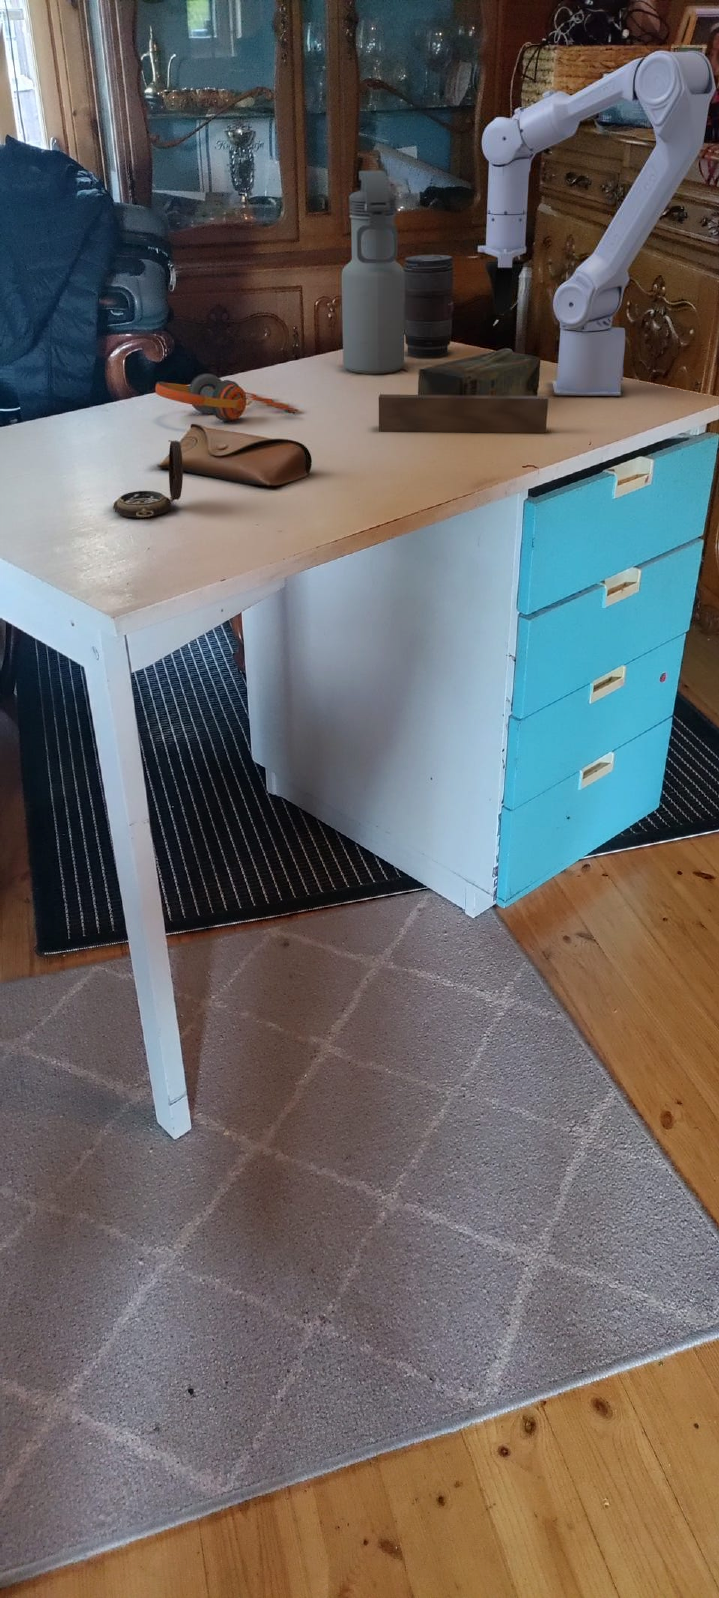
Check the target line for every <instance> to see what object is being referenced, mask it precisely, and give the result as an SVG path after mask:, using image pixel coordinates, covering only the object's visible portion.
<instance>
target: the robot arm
mask: <svg viewBox="0 0 719 1598" xmlns="http://www.w3.org/2000/svg"><path fill="white" fill-rule="evenodd" d="M716 90H717V87H716V82H715V78H714V73H713V68H712V63H711V62H710V60H709V59H708V56H706V55H705V54H704V53H702V52H700V51H697V50H688V51H668V50H656V51H653V52H651V53H650V54H648V55H647V56H643V57H639V58H636V59H633V60H632V61H630V62H628V63H626V64H624V65H623V66H621V67H619V68H617V69H615V70H614V71H612V72H610V73H609V74H607V75H605V76H604V77H601V78H600V79H599V80H596V81H595V82H593V83H592V84H590V85H588V86H586V87H585V88H584V87H583V89H581V90H579V91H577V92H576V93H574V94H572V95H570V94H568V93H567V92H564V91H562V90H558V91H556V90H554V89H551V90H547V91H545V92H543V93H542V95H541V96H542V99H541V100H539V101H537V102H535V103H533V104H531V105H529V106H527V107H524V106H519V107H517V108H515V110H514V114H513V115H512V117H505V116H497V117H495V118H494V119H493V120H492V121H490V122H489V124H487V126H486V127H485V128H484V131H483V133H482V136H481V137H482V138H481V149H482V153H483V156H484V157H485V159H486V160H487V161H488V181H487V206H486V230H485V231H486V234H485V245H478V246H477V253H485V254H486V255H489V256H492V257H495V258H497V260H496V261H495V260H494V261H485V264H484V267H485V270H486V272H487V274H488V277H489V281H490V286H491V293H492V301H493V309H494V314H495V315H510V312H511V309H512V304H513V300H514V295H515V291H516V286H517V284H518V280H519V278H520V275H521V273H522V271H523V269H524V268H525V263H524V260H523V259H514V258H515V257H519V256H520V255H523V254H526V253H527V246H526V236H527V235H526V233H527V215H528V213H527V212H528V197H529V179H530V178H529V177H530V172H531V166H532V165H531V164H532V162H533V159H534V157H535V156H536V154H537V153H540V152H542V151H544V150H547V149H548V148H550V147H553V146H554V145H557V144H558V143H560V142H562V141H565V140H567V139H569V138H571V137H573V136H574V135H575V134H576V132H577V130H578V127H579V125H580V122H581V121H583V120H585V119H588V118H590V117H592V116H594V115H596V114H599V113H601V112H603V111H607V110H608V109H610V108H612V107H615V106H617V105H619V104H622V103H624V102H626V101H631V102H639V103H640V106H641V107H642V109H643V111H644V113H645V115H646V117H647V119H648V121H649V122H650V124H651V126H652V129H653V133H654V137H655V142H656V143H655V146H654V148H653V150H652V152H651V153H650V155H649V157H648V158H647V160H646V162H645V164H644V166H643V167H642V169H641V170H640V172H639V174H638V176H636V177H637V178H636V179H635V181H634V182H633V184H632V186H631V188H630V189H629V191H628V193H627V194H626V195H625V198H624V200H623V202H622V203H621V205H620V207H619V209H618V210H617V212H616V213H615V215H614V217H613V218H612V220H611V222H610V224H609V225H608V227H607V229H606V231H605V232H604V233H603V235H602V237H601V239H600V240H599V243H598V244H597V246H596V247H595V249H594V251H593V253H591V255H589V257H587V258H586V259H585V260H584V261H583V262H582V263H581V264H580V265H578V267H577V268H575V271H574V272H573V274H572V275H571V276H570V278H568V280H565V281H564V282H563V283H562V284H561V285H559V286H558V288H557V289H556V291H555V293H554V295H553V300H552V308H553V309H552V310H553V313H554V315H555V318H556V319H557V321H558V322H559V331H560V332H559V346H558V361H557V373H556V374H557V375H556V379H555V380H552V389H553V395H555V396H589V397H591V396H597V397H599V396H602V397H604V396H605V397H606V396H607V397H620V396H621V395H622V392H621V390H622V382H623V379H624V359H625V350H626V349H625V348H626V330H625V328H624V327H617V326H612V325H613V319H614V318H613V317H614V316H615V315H616V314H617V312H619V309H620V308H621V306H622V302H623V296H624V292H625V289H626V287H627V285H628V283H629V281H630V275H629V271H628V270H629V268H630V267H631V265H632V263H633V261H634V260H635V258H636V257H637V255H638V253H639V252H640V250H641V249H642V247H643V245H644V243H645V242H646V240H647V239H648V237H649V235H650V234H651V232H652V231H653V229H654V228H655V226H656V224H657V223H658V221H659V220H660V218H661V216H662V214H663V213H664V211H665V209H666V208H667V206H668V205H669V204H670V202H671V200H672V198H673V196H674V195H675V193H676V192H677V190H678V188H679V186H680V185H681V183H682V182H683V180H684V179H685V177H686V176H687V173H688V172H689V170H690V168H692V166H693V163H694V162H695V160H696V159H697V158H698V156H699V154H700V152H701V150H702V148H703V145H704V141H705V134H706V127H707V121H708V116H709V115H708V114H709V108H710V103H711V100H712V99H713V97H714V94H715V92H716Z"/></svg>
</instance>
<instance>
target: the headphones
mask: <svg viewBox="0 0 719 1598" xmlns="http://www.w3.org/2000/svg"><path fill="white" fill-rule="evenodd" d="M155 394H156V395H158V396H159V397H162V398H164V399H167V400H171V401H175V402H179V403H183V404H187V405H191V406H192V407H193V408H194V409H195V410H196V411H197V412H199V413H201V414H204V415H212V414H213V415H214V416H215V418H217V419H218V420H220V421H224V422H230V421H233V420H237V419H239V418H240V417H241V416H243V414H244V412H245V410H246V407H247V406H249V405H251V404H252V402H253V401H255V402H262V403H264V404H265V406H267V407H274V408H277V409H278V408H279V409H283V411H284V412H285V413H288V414H293V415H295V414H296V413H295V412H298V411H299V409H298V408H295V407H290V405H289V404H286V403H283V402H278V401H277V402H276V401H274V399H272V398H266V397H258V396H257V394H256V393H252V392H247V391H245V390H244V389H243V387H241V386H240V385H239V384H238V383H237V382H236V381H233V380H229V379H225V380H222V379H221V378H220V377H218V376H217V375H215V374H213V373H212V374H211V373H202V374H199V375H197V376H196V377H194V378H193V379H192V381H190V384H189V385H188V384H183V383H182V384H180V383H171V382H167V381H157V382H156V384H155ZM247 395H249V396H250V397H247ZM247 400H248V401H247Z"/></svg>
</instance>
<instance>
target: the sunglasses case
mask: <svg viewBox="0 0 719 1598" xmlns="http://www.w3.org/2000/svg"><path fill="white" fill-rule="evenodd" d="M178 442H179V443H180V446H181V452H182V461H183V472H186V473H191V474H196V475H202V476H206V477H210V478H216V479H220V480H224V481H228V482H233V483H239V484H245V485H258V486H259V485H260V486H267V487H270V486H271V487H277V486H283V485H287V484H291V483H293V482H296V481H298V480H301V479H304V478H305V477H308V475H309V474H310V472H311V469H312V465H313V463H312V462H313V461H312V460H313V459H312V455H311V452H310V450H309V449H308V447H307V446H306V445H305V444H303V443H302V442H299V441H296V440H293V439H288V438H271V437H270V438H269V437H266V436H259V435H255V434H249V433H245V432H239V431H230V430H224V429H218V428H210V427H207V426H203V425H201V424H198V423H191V424H190V429H189V430H188V431H187V432H186V433H185V434H184V436H183V437H181V439H180V440H179V441H178ZM156 467H157V468H163V469H169V454H167V456H166V457H165V458H164V459H163V461H162V462H160V463H157V464H156Z"/></svg>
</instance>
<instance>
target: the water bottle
mask: <svg viewBox="0 0 719 1598" xmlns="http://www.w3.org/2000/svg"><path fill="white" fill-rule="evenodd" d="M358 181H361V182H360V190H358V191H355V192H353V193H351V194H350V195H349V196H348V202H349V203H348V204H349V205H348V206H349V208H348V209H349V211H348V212H349V218H350V229H351V230H350V231H351V260H350V261H349V262H348V263H347V264H346V265H344V267H343V268H342V272H341V312H342V313H341V317H342V318H341V319H342V322H341V323H342V363H343V367H344V368H345V369H346V370H347V371H349V372H351V373H355V374H362V375H383V374H384V375H385V374H390V373H394V372H398V371H399V370H401V369H402V368H403V367H404V365H405V332H404V321H405V275H404V267H403V266H402V265H401V264H400V263H399V262H397V261H396V259H397V258H398V254H399V249H398V248H399V233H398V232H399V231H398V229H397V227H396V226H395V218H396V217H397V215H396V213H395V212H396V211H397V209H396V206H397V205H396V202H397V201H396V200H397V196H396V194H395V193H393V192H392V191H390V190H389V180H388V177H387V172H385V171H383V170H378V169H377V170H375V169H374V170H371V169H370V170H359V171H358Z"/></svg>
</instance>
